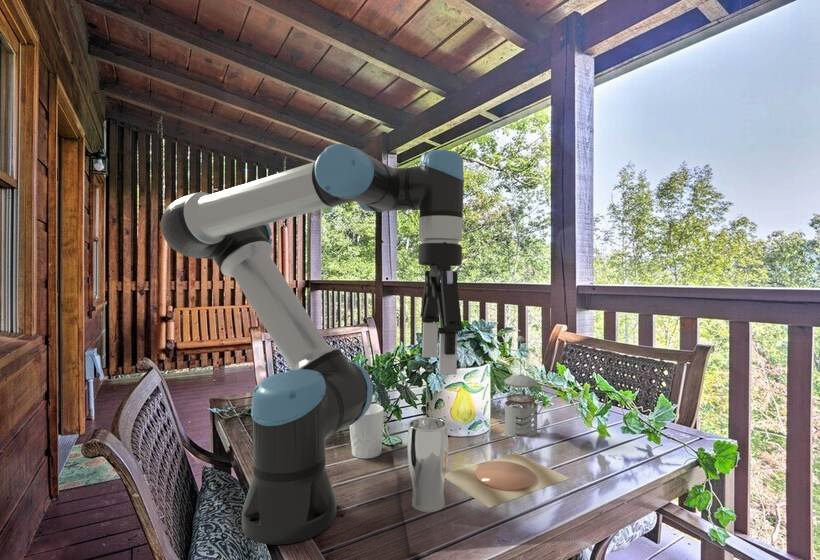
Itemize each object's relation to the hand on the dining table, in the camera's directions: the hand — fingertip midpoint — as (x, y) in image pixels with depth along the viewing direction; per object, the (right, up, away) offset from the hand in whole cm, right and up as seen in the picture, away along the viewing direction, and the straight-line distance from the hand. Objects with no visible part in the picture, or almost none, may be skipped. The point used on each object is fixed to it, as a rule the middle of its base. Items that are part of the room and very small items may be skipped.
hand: (437, 365), depth 76 cm
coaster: (+13, -23, +7) cm, 27 cm away
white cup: (-15, -25, +23) cm, 36 cm away
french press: (+23, -24, +32) cm, 47 cm away
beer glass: (-2, -25, -2) cm, 25 cm away
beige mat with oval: (+13, -24, +7) cm, 29 cm away
